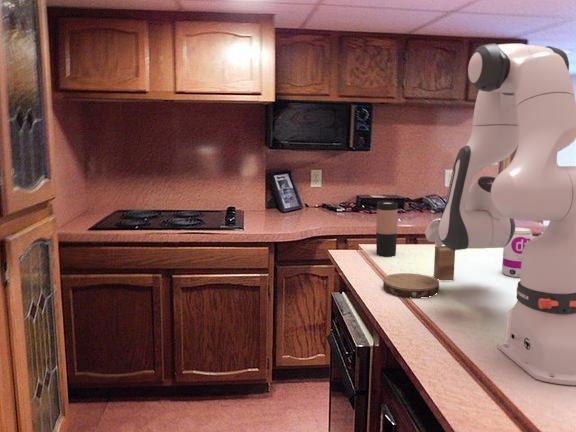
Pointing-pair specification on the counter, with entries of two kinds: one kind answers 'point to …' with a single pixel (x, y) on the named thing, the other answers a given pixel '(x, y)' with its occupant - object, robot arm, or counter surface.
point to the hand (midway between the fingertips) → (452, 244)
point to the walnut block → (444, 263)
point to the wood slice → (410, 285)
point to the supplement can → (515, 252)
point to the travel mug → (386, 228)
